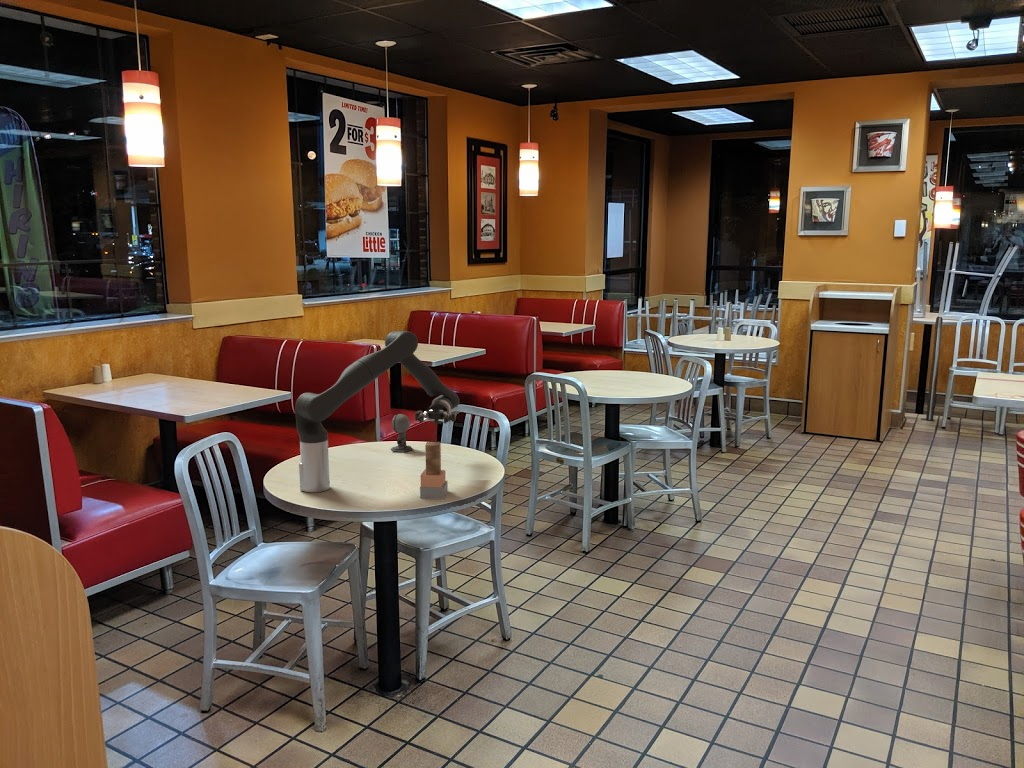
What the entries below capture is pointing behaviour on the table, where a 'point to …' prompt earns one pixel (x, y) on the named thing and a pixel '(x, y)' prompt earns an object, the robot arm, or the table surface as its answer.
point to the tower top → (432, 479)
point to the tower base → (434, 491)
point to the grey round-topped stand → (401, 433)
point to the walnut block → (433, 458)
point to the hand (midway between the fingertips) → (432, 420)
